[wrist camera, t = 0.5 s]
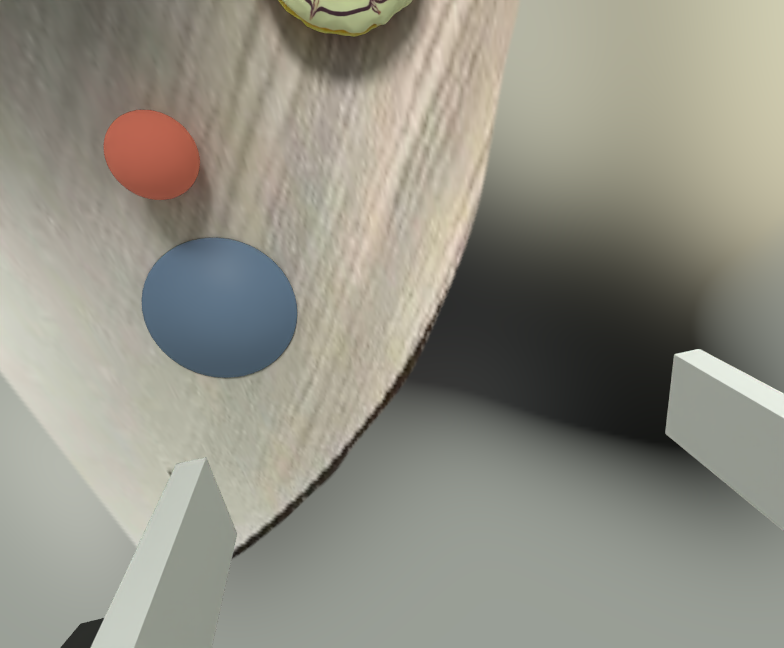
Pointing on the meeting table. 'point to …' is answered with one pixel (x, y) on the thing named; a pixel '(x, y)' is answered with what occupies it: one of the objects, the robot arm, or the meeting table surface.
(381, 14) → the decorated donut
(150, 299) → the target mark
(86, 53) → the meeting table surface
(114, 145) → the ball
